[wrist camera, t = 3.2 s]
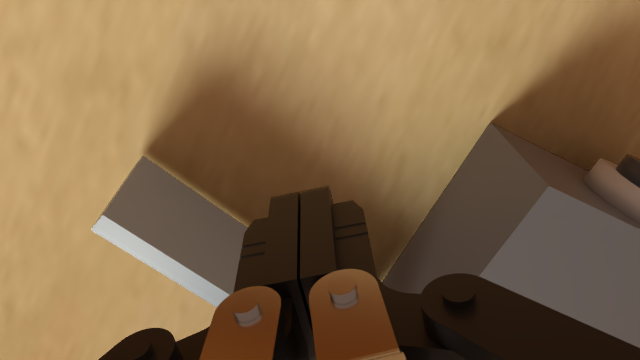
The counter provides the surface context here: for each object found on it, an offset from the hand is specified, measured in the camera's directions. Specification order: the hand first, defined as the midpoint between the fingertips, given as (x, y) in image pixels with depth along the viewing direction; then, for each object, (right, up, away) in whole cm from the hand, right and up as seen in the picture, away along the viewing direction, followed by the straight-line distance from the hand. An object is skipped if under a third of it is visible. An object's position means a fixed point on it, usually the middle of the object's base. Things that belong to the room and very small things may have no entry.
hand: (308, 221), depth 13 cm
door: (-3, -2, +11) cm, 12 cm away
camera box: (+9, -3, +13) cm, 16 cm away
